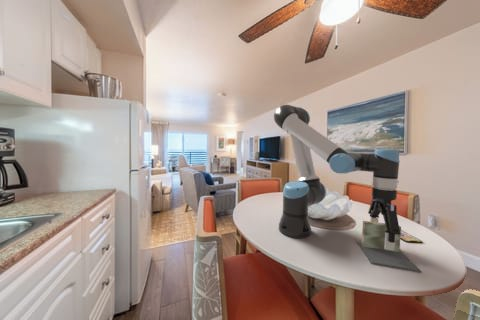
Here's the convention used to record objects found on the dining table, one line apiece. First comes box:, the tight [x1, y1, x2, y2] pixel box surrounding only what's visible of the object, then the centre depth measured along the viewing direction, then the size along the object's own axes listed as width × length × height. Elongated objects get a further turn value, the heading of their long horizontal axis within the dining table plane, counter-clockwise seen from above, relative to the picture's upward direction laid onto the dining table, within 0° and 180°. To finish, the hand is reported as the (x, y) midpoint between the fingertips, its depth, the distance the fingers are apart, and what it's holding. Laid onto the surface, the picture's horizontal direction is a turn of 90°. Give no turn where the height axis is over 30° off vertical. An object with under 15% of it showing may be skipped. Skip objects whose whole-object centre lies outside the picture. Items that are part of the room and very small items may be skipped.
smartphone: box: [400, 229, 423, 244], centre depth 84 cm, size 7×1×15 cm
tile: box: [361, 220, 402, 252], centre depth 71 cm, size 12×2×10 cm, turn 73°
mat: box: [357, 241, 422, 273], centre depth 67 cm, size 14×14×1 cm
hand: (380, 240), depth 71 cm, fingers open, 13 cm apart
